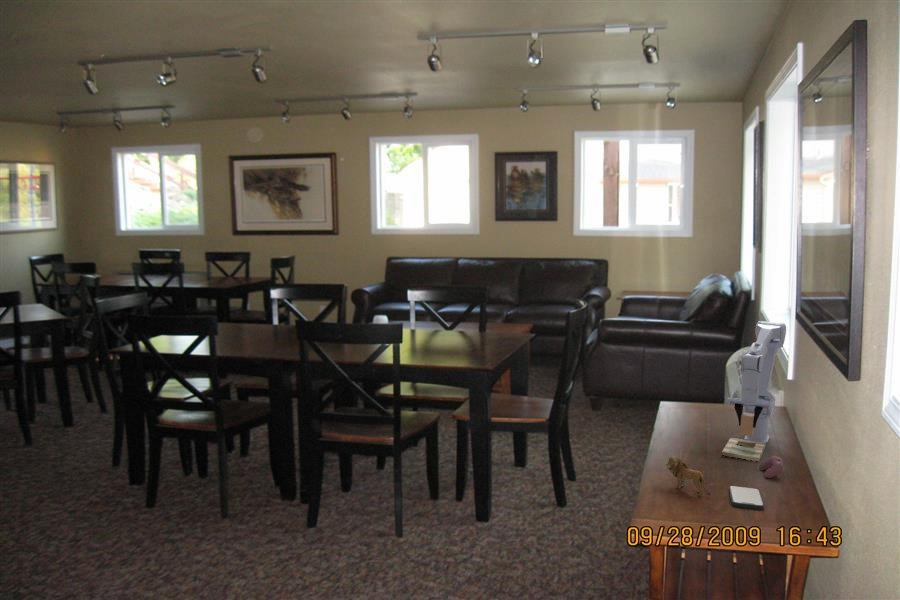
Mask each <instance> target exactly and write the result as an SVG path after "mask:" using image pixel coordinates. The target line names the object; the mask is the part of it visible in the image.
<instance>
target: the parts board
mask: <svg viewBox="0 0 900 600" xmlns="http://www.w3.org/2000/svg"><path fill="white" fill-rule="evenodd" d="M766 444H767V443H763V442H756V441H750V440H744V439H741V438H737V437H736V438H734V437H730V438H729V439H728V441H727V443H726V444H725V447H724V448H723V449H722V451H721V456H722V455H726V456H731V457H736V458H735V459H737V458H742V459H741V460H743V459H746V460H745V461H750V460H752V461H751V462H756V461H759V462H760V460H761V458H762V456H763V454H764V451H765V449H766ZM740 445H743V446H740ZM731 457H730V458H731Z"/></svg>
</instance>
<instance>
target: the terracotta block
mask: <svg viewBox="0 0 900 600" xmlns="http://www.w3.org/2000/svg"><path fill="white" fill-rule="evenodd" d="M753 422H754V414H749V413H746V412H742V415H741V426H739V427H740V429H739V431H740V432H739V435H741V436H746V435H747V436H752V435H753V432H754V428H753Z"/></svg>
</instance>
